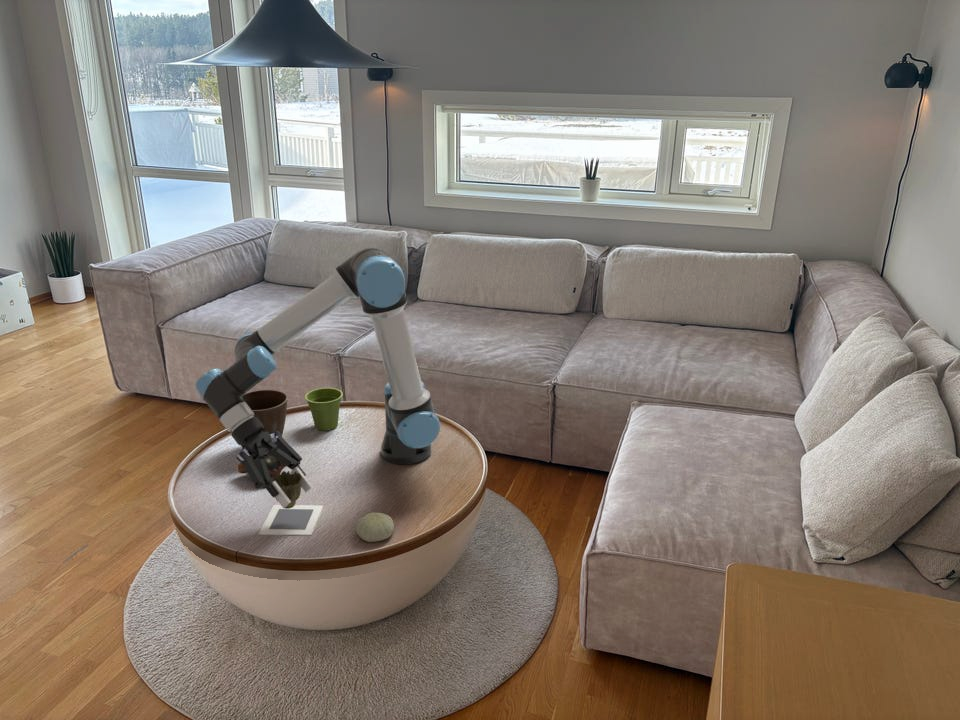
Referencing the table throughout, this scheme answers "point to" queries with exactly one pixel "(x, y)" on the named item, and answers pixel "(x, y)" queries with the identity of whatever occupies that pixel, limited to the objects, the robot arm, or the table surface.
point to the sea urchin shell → (375, 527)
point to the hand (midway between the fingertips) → (298, 497)
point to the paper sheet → (291, 520)
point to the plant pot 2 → (324, 407)
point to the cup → (289, 486)
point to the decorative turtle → (271, 463)
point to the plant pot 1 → (268, 408)
